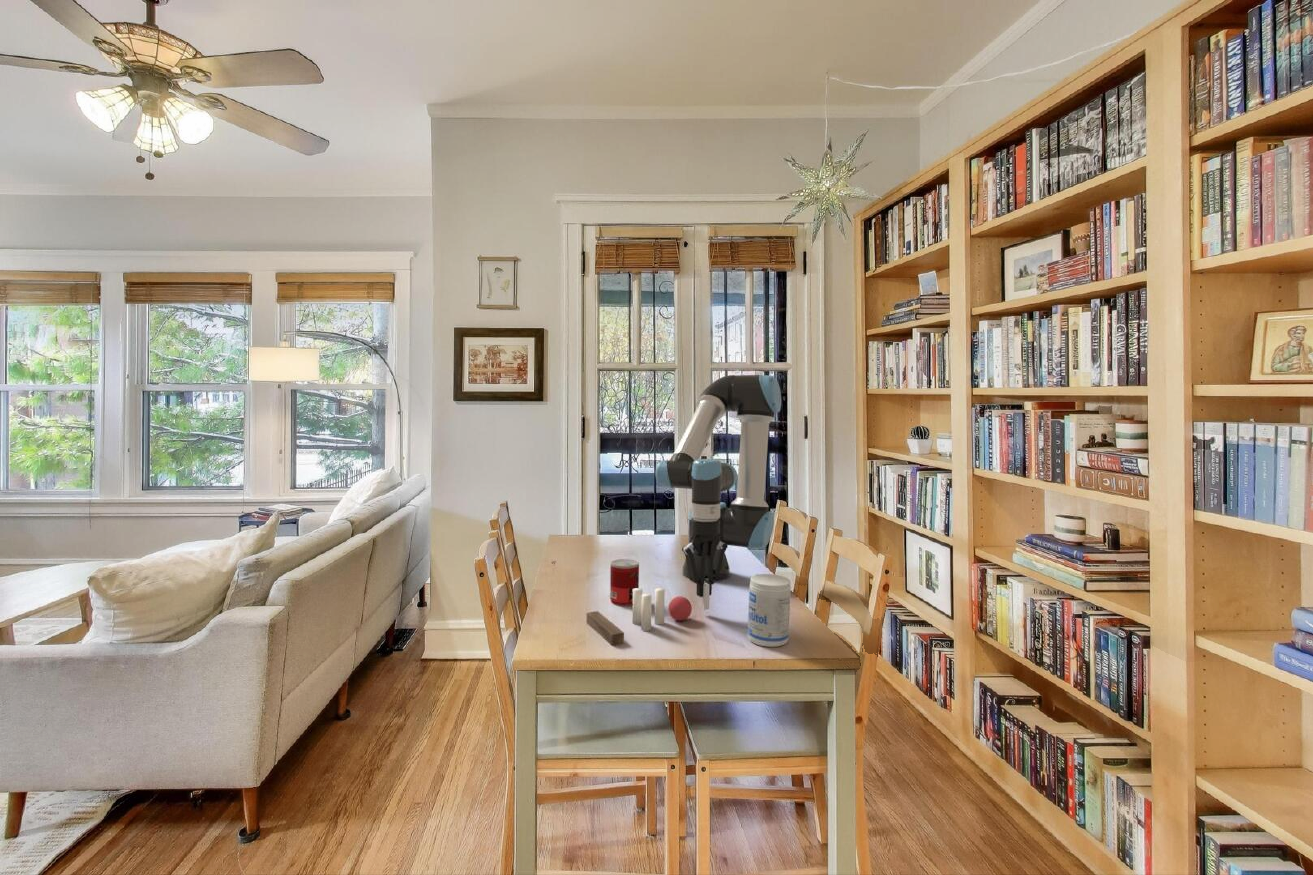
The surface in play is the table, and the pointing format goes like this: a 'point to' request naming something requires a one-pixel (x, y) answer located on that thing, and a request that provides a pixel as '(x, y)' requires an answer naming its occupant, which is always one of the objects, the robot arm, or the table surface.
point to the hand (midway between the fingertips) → (703, 607)
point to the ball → (680, 608)
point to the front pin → (659, 606)
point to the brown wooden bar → (605, 628)
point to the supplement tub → (769, 610)
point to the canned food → (623, 581)
